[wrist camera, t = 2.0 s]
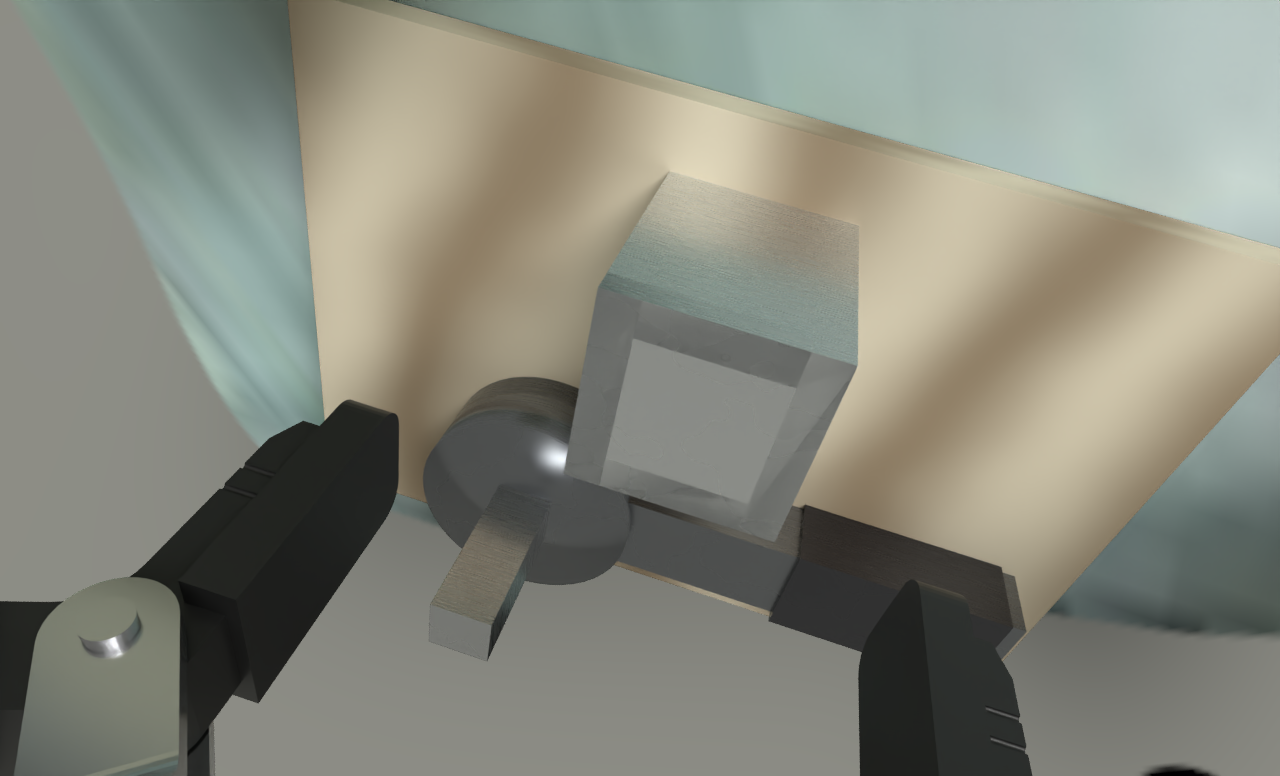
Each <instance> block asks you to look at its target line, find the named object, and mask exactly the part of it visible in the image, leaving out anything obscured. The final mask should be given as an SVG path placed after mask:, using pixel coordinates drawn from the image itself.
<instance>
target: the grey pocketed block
mask: <svg viewBox="0 0 1280 776" xmlns="http://www.w3.org/2000/svg"><path fill="white" fill-rule="evenodd" d="M858 294H859V226H858V225H855V224H851V223H848V222H844V221H841V220H837V219H834V218H830V217H827V216H823V215H820V214H816V213H813V212H809V211H806V210H803V209H799V208H796V207H792V206H789V205H785V204H782V203H778V202H775V201H771V200H768V199H764V198H761V197H757V196H754V195H750V194H747V193H744V192H740V191H737V190H733V189H730V188H726V187H723V186H719V185H716V184H712V183H709V182H705V181H702V180H698V179H695V178H692V177H688V176H685V175H681V174H678V173H674V172H671V171H669V173H668V175H667V176H666V178H665V179H664V181H663V183H662V184H661V186H660V188H659V189H658V191H657V192H656V194H655V196H654V197H653V199H652V200H651V202H650V204H649V205H648V207H647V209H646V210H645V212H644V213H643V215H642V217H641V218H640V220H639V222H638V223H637V225H636V226H635V228H634V230H633V231H632V233H631V234H630V236H629V238H628V239H627V241H626V243H625V244H624V246H623V247H622V249H621V251H620V252H619V254H618V256H617V257H616V259H615V260H614V262H613V264H612V265H611V267H610V269H609V270H608V272H607V273H606V275H605V277H604V278H603V280H602V281H601V283H600V285H599V286H598V289H597V295H596V300H595V306H594V311H593V316H592V322H591V327H590V332H589V338H588V343H587V349H586V354H585V359H584V365H583V370H582V376H581V381H580V386H579V392H578V397H577V403H576V408H575V413H574V419H573V424H572V430H571V435H570V440H569V446H568V451H567V456H566V462H565V467H564V473H563V474H565V475H568V476H571V477H574V478H577V479H580V480H583V481H586V482H590V483H593V484H596V485H599V486H602V487H605V488H608V489H611V490H614V491H617V492H620V493H624V494H627V495H630V496H633V497H636V498H639V499H642V500H645V501H648V502H651V503H654V504H658V505H661V506H664V507H667V508H670V509H673V510H676V511H679V512H682V513H685V514H688V515H692V516H695V517H698V518H701V519H704V520H707V521H710V522H713V523H716V524H719V525H722V526H726V527H729V528H732V529H735V530H738V531H741V532H744V533H747V534H750V535H753V536H757V537H760V538H763V539H766V540H769V541H772V542H775V540H776V538H777V536H778V534H779V532H780V530H781V528H782V526H783V524H784V521H785V519H786V517H787V515H788V513H789V511H790V509H791V507H792V504H793V502H794V500H795V498H796V496H797V494H798V492H799V490H800V488H801V485H802V483H803V481H804V479H805V477H806V475H807V473H808V471H809V468H810V466H811V464H812V462H813V460H814V458H815V456H816V454H817V451H818V449H819V447H820V445H821V443H822V441H823V439H824V437H825V435H826V432H827V430H828V428H829V426H830V424H831V422H832V420H833V418H834V415H835V413H836V411H837V409H838V407H839V405H840V403H841V401H842V398H843V396H844V394H845V392H846V390H847V388H848V386H849V384H850V382H851V379H852V377H853V375H854V373H855V371H856V369H857V367H858Z"/></svg>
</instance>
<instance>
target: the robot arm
mask: <svg viewBox="0 0 1280 776" xmlns="http://www.w3.org/2000/svg"><path fill="white" fill-rule="evenodd" d="M398 482H399V419H398V416H397V415H396V414H395V413H392V412H389V411H385V410H382V409H379V408H376V407H373V406H370V405H366V404H363V403H360V402H357V401H354V400H351V399H349V400H345V401H344V402H342V403H341V404H340V405H339V406H338V407H337V408H336V409H335V410H334V411H333V412H332V413H331V414H330V415H329V417H328V418H327V419H326V420H325V421H324V422H323V423H322V424H321V425H320V426H318V425H315V424H312V423H308V422H305V421H302V422H300V423H298V424H296V425H294V426H292V427H290V428H288V429H286V430H284V431H282V432H280V433H279V434H277V435H275V436H273V437H271V438H269V439H268V440H267V441H266V442H265V443H264V444H263V445H262V446H261V447H260V448H259V449H258V450H257V451H256V452H255V453H254V454H253V455H252V456H251V457H250V459H248V460H247V461H246V462H245V466H244V468H239V470H238V471H237V472H236V473H235V474H234V475H233V476H232V477H231V478H230V479H229V480H228V481H227V482H226V483H225V486H224V488H223V489H219V490H218V491H217V492H216V493H215V494H214V495H213V496H212V497H211V498H210V499H209V500H208V501H207V502H206V503H205V504H204V505H203V506H202V507H201V508H200V509H199V510H198V511H197V512H196V513H195V514H194V515H193V516H192V517H191V518H190V519H189V520H188V521H187V522H186V523H185V524H184V525H183V526H182V527H181V528H180V530H179V531H178V532H176V534H175V535H173V537H172V538H171V539H170V540H169V541H168V542H167V543H166V544H165V545H164V546H163V547H162V548H161V549H160V550H159V551H158V552H157V553H156V554H155V555H154V556H153V557H152V558H151V559H150V560H149V561H148V562H147V563H146V564H145V565H144V566H143V567H142V568H140V569H139V570H138V571H137V572H136V573H134V574H133V575H132V576H130V577H125V578H117V579H112V580H108V581H104V582H100V583H97V584H94V585H92V586H89V587H87V588H85V589H83V590H81V591H79V592H77V593H76V594H74V595H72V596H71V597H69V598H67V599H66V600H65V601H62V602H8V601H5V602H4V601H0V776H215V751H214V750H215V749H214V723H213V720H214V719H215V718H216V716H217V715H218V713H219V712H220V711H221V709H222V708H223V707H224V705H225V704H226V703H227V701H228V700H229V698H230V697H231V696H232V695H235V696H238V697H241V698H244V699H247V700H250V701H253V702H256V703H259V702H260V700H261V699H262V697H263V696H264V695H265V693H266V692H267V690H268V689H269V687H270V686H271V684H272V683H273V681H274V680H275V679H276V677H277V676H278V674H279V673H280V671H281V670H282V669H283V667H284V665H285V664H286V663H287V661H288V660H289V658H290V657H291V655H292V654H293V653H294V651H295V650H296V648H297V647H298V645H299V644H300V642H301V641H302V639H303V638H304V637H305V635H306V634H307V632H308V631H309V629H310V628H311V626H312V625H313V623H314V622H315V621H316V619H317V618H318V616H319V615H320V613H321V612H322V611H323V609H324V608H325V606H326V605H327V603H328V602H329V600H330V599H331V598H332V596H333V595H334V593H335V592H336V590H337V589H338V587H339V586H340V584H341V583H342V582H343V580H344V579H345V577H346V576H347V574H348V573H349V571H350V570H351V569H352V567H353V566H354V564H355V563H356V561H357V560H358V558H359V557H360V555H361V554H362V553H363V551H364V549H365V548H366V547H367V545H368V544H369V542H370V541H371V540H372V538H373V537H374V535H375V534H376V532H377V531H378V529H379V528H380V526H381V525H382V524H383V522H384V520H385V519H386V517H387V516H388V514H389V512H390V510H391V507H392V505H393V503H394V500H395V497H396V493H397V489H398ZM858 680H859V732H860V733H859V736H860V738H859V739H860V776H1032V772H1031V768H1030V763H1029V758H1028V755H1027V754H1025V748H1026V743H1025V738H1024V733H1023V728H1022V724H1021V723H1019V717H1020V713H1019V709H1018V704H1017V699H1016V694H1015V689H1014V684H1013V679H1012V677H1011V676H1010V674H1009V672H1008V670H1007V669H1006V667H1005V665H1004V663H1003V662H1002V660H1001V658H1000V656H999V655H998V653H997V651H996V649H995V647H994V646H993V644H992V643H991V642H988V641H985V640H982V639H979V638H976V637H974V635H973V629H972V623H971V617H970V611H969V606H968V602H967V600H966V598H965V597H964V596H963V595H961V594H958V593H954V592H951V591H948V590H945V589H942V588H939V587H935V586H932V585H929V584H926V583H923V582H920V581H916V580H913V579H912V580H909V581H907V582H906V583H905V584H904V586H903V587H902V588H901V590H900V591H899V593H898V594H897V595H896V597H895V598H894V600H893V601H892V603H891V604H890V606H889V607H888V608H887V610H886V611H885V613H884V614H883V616H882V617H881V618H880V620H879V621H878V623H877V624H876V626H875V627H874V628H873V630H872V631H871V633H870V634H869V636H868V638H867V640H866V642H865V645H864V648H863V651H862V654H861V659H860V665H859V678H858Z"/></svg>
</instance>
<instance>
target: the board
mask: <svg viewBox="0 0 1280 776" xmlns="http://www.w3.org/2000/svg"><path fill="white" fill-rule="evenodd" d="M288 12H289V23H290V34H291V45H292V57H293V68H294V79H295V90H296V101H297V113H298V124H299V135H300V146H301V158H302V169H303V180H304V191H305V203H306V214H307V225H308V236H309V248H310V259H311V270H312V281H313V293H314V304H315V315H316V326H317V338H318V349H319V360H320V371H321V383H322V394H323V405H324V416H325V420H326V419H327V418H328V417H329V415H330V414H331V413H332V412H333V411H334V410H335V409H336V408H337V407H338V406H339V405H340V404H341V403H342V402H344V401H345V400H349V399H351V400H354V401H357V402H360V403H363V404H366V405H370V406H373V407H376V408H379V409H382V410H385V411H389V412H392V413H395V414H396V415H397V416H398V419H399V482H398V489H397V493H398V494H401V495H404V496H407V497H410V498H413V499H416V500H419V501H422V502H425V503H427V500H426V497H425V493H424V488H423V472H424V467H425V463H426V460H427V458H428V456H429V454H430V453H431V451H432V450H433V448H434V447H435V445H436V444H437V443H438V441H439V440H440V439H441V437H442V436H443V434H444V433H445V432H446V430H447V429H448V428H449V426H450V425H451V423H452V422H453V421H454V419H455V418H456V417H457V415H458V414H459V412H460V411H461V410H462V408H463V407H464V406H465V404H466V403H467V402H468V400H469V399H470V398H471V397H472V396H473V395H474V394H475V393H476V392H478V391H479V390H480V389H482V388H484V387H485V386H487V385H489V384H491V383H494V382H496V381H499V380H503V379H508V378H514V377H539V378H546V379H551V380H555V381H559V382H563V383H565V384H568V385H571V386H574V387H576V388H578V389H579V386H580V381H581V376H582V370H583V365H584V359H585V354H586V349H587V343H588V338H589V332H590V327H591V322H592V316H593V311H594V306H595V300H596V295H597V289H598V286H599V285H600V283H601V281H602V280H603V278H604V277H605V275H606V273H607V272H608V270H609V269H610V267H611V265H612V264H613V262H614V260H615V259H616V257H617V256H618V254H619V252H620V251H621V249H622V247H623V246H624V244H625V243H626V241H627V239H628V238H629V236H630V234H631V233H632V231H633V230H634V228H635V226H636V225H637V223H638V222H639V220H640V218H641V217H642V215H643V213H644V212H645V210H646V209H647V207H648V205H649V204H650V202H651V200H652V199H653V197H654V196H655V194H656V192H657V191H658V189H659V188H660V186H661V184H662V183H663V181H664V179H665V178H666V176H667V175H668V173H669V171H671V172H674V173H678V174H681V175H685V176H688V177H692V178H695V179H698V180H702V181H705V182H709V183H712V184H716V185H719V186H723V187H726V188H730V189H733V190H737V191H740V192H744V193H747V194H750V195H754V196H757V197H761V198H764V199H768V200H771V201H775V202H778V203H782V204H785V205H789V206H792V207H796V208H799V209H803V210H806V211H809V212H813V213H816V214H820V215H823V216H827V217H830V218H834V219H837V220H841V221H844V222H848V223H851V224H855V225H858V226H859V294H858V367H857V369H856V371H855V373H854V375H853V377H852V379H851V382H850V384H849V386H848V388H847V390H846V392H845V394H844V396H843V398H842V401H841V403H840V405H839V407H838V409H837V411H836V413H835V415H834V418H833V420H832V422H831V424H830V426H829V428H828V430H827V432H826V435H825V437H824V439H823V441H822V443H821V445H820V447H819V449H818V451H817V454H816V456H815V458H814V460H813V462H812V464H811V466H810V468H809V471H808V473H807V475H806V477H805V479H804V481H803V483H802V485H801V488H800V490H799V492H798V494H797V496H796V498H795V500H794V502H793V504H792V505H793V506H796V507H799V508H802V509H803V508H804V506H805V504H806V505H809V506H812V507H815V508H818V509H821V510H824V511H828V512H831V513H834V514H837V515H840V516H843V517H846V518H850V519H853V520H856V521H859V522H862V523H865V524H868V525H872V526H875V527H878V528H881V529H884V530H887V531H890V532H894V533H897V534H900V535H903V536H906V537H909V538H912V539H915V540H919V541H922V542H925V543H928V544H931V545H934V546H937V547H941V548H944V549H947V550H950V551H953V552H956V553H959V554H963V555H966V556H969V557H972V558H975V559H978V560H981V561H985V562H988V563H991V564H994V565H997V566H1000V567H1002V572H1003V573H1006V574H1009V575H1012V576H1015V580H1016V584H1017V589H1018V594H1019V599H1020V603H1021V608H1022V613H1023V617H1024V622H1025V627H1026V633H1025V634H1024V635H1023V636H1022V637H1021V639H1020V640H1019V641H1018V642H1017V643H1016V644H1015V645H1014V646H1013V648H1012V649H1011V650H1010V651H1009V652H1008V653H1007V654H1006V655H1005V656H1004V658H1003V659H1002V662H1003V661H1004V659H1005V658H1006V657H1007V656H1008V655H1009V654H1010V653H1011V651H1013V649H1014V648H1015V647H1016V646H1017V645H1018V644H1019V643H1020V642H1021V641H1022V639H1023V638H1024V637H1025V636H1026V635H1027V634H1028V633H1029V632H1030V630H1031V629H1032V628H1033V627H1034V626H1035V625H1036V624H1037V623H1038V622H1039V621H1040V619H1041V618H1042V617H1043V616H1044V615H1045V614H1046V613H1047V612H1048V611H1049V610H1050V608H1051V607H1052V606H1053V605H1054V604H1055V603H1056V602H1057V601H1058V600H1059V598H1060V597H1061V596H1062V595H1063V594H1064V593H1065V592H1066V591H1067V590H1068V588H1069V587H1070V586H1071V585H1072V584H1073V583H1074V582H1075V581H1076V580H1077V578H1078V577H1079V576H1080V575H1081V574H1082V573H1083V572H1084V571H1085V570H1086V568H1087V567H1088V566H1089V565H1090V564H1091V563H1092V562H1093V561H1094V560H1095V558H1096V557H1097V556H1098V555H1099V554H1100V553H1101V552H1102V551H1103V550H1104V548H1105V547H1106V546H1107V545H1108V544H1109V543H1110V542H1111V541H1112V540H1113V538H1114V537H1115V536H1116V535H1117V534H1118V533H1119V532H1120V531H1121V530H1122V528H1123V527H1124V526H1125V525H1126V524H1127V523H1128V522H1129V521H1130V520H1131V518H1132V517H1133V516H1134V515H1135V514H1136V513H1137V512H1138V511H1139V510H1140V508H1141V507H1142V506H1143V505H1144V504H1145V503H1146V502H1147V501H1148V500H1149V498H1150V497H1151V496H1152V495H1153V494H1154V493H1155V492H1156V491H1157V490H1158V488H1159V487H1160V486H1161V485H1162V484H1163V483H1164V482H1165V481H1166V480H1167V478H1168V477H1169V476H1170V475H1171V474H1172V473H1173V472H1174V471H1175V470H1176V468H1177V467H1178V466H1179V465H1180V464H1181V463H1182V462H1183V461H1184V460H1185V458H1186V457H1187V456H1188V455H1189V454H1190V453H1191V452H1192V451H1193V450H1194V448H1195V447H1196V446H1197V445H1198V444H1199V443H1200V442H1201V441H1202V440H1203V438H1204V437H1205V436H1206V435H1207V434H1208V433H1209V432H1210V431H1211V430H1212V428H1213V427H1214V426H1215V425H1216V424H1217V423H1218V422H1219V421H1220V420H1221V418H1222V417H1223V416H1224V415H1225V414H1226V413H1227V412H1228V411H1229V410H1230V408H1231V407H1232V406H1233V405H1234V404H1235V403H1236V402H1237V401H1238V400H1239V398H1240V397H1241V396H1242V395H1243V394H1244V393H1245V392H1246V391H1247V390H1248V388H1249V387H1250V386H1251V385H1252V384H1253V383H1254V382H1255V381H1256V380H1257V378H1258V377H1259V376H1260V375H1261V374H1262V373H1263V372H1264V371H1265V370H1266V368H1267V367H1268V366H1269V365H1270V364H1271V363H1272V362H1273V361H1274V360H1275V358H1276V357H1277V356H1278V355H1279V354H1280V248H1277V247H1273V246H1270V245H1266V244H1263V243H1259V242H1256V241H1252V240H1248V239H1245V238H1241V237H1238V236H1234V235H1230V234H1227V233H1223V232H1220V231H1216V230H1212V229H1209V228H1205V227H1202V226H1198V225H1194V224H1191V223H1187V222H1184V221H1180V220H1177V219H1173V218H1169V217H1166V216H1162V215H1159V214H1155V213H1151V212H1148V211H1144V210H1141V209H1137V208H1133V207H1130V206H1126V205H1123V204H1119V203H1115V202H1112V201H1108V200H1105V199H1101V198H1098V197H1094V196H1090V195H1087V194H1083V193H1080V192H1076V191H1072V190H1069V189H1065V188H1062V187H1058V186H1054V185H1051V184H1047V183H1044V182H1040V181H1036V180H1033V179H1029V178H1026V177H1022V176H1019V175H1015V174H1011V173H1008V172H1004V171H1001V170H997V169H993V168H990V167H986V166H983V165H979V164H975V163H972V162H968V161H965V160H961V159H957V158H954V157H950V156H947V155H943V154H940V153H936V152H932V151H929V150H925V149H922V148H918V147H914V146H911V145H907V144H904V143H900V142H896V141H893V140H889V139H886V138H882V137H878V136H875V135H871V134H868V133H864V132H860V131H857V130H853V129H850V128H846V127H843V126H839V125H835V124H832V123H828V122H825V121H821V120H817V119H814V118H810V117H807V116H803V115H799V114H796V113H792V112H789V111H785V110H781V109H778V108H774V107H771V106H767V105H764V104H760V103H756V102H753V101H749V100H746V99H742V98H738V97H735V96H731V95H728V94H724V93H720V92H717V91H713V90H710V89H706V88H702V87H699V86H695V85H692V84H688V83H685V82H681V81H677V80H674V79H670V78H667V77H663V76H659V75H656V74H652V73H649V72H645V71H641V70H638V69H634V68H631V67H627V66H623V65H620V64H616V63H613V62H609V61H606V60H602V59H598V58H595V57H591V56H588V55H584V54H580V53H577V52H573V51H570V50H566V49H562V48H559V47H555V46H552V45H548V44H544V43H541V42H537V41H534V40H530V39H527V38H523V37H519V36H516V35H512V34H509V33H505V32H501V31H498V30H494V29H491V28H487V27H483V26H480V25H476V24H473V23H469V22H465V21H462V20H458V19H455V18H451V17H447V16H444V15H440V14H437V13H433V12H430V11H426V10H422V9H419V8H415V7H412V6H408V5H404V4H401V3H397V2H394V1H390V0H288ZM614 565H616V566H619V567H622V568H625V569H628V570H631V571H634V572H637V573H640V574H643V575H646V576H649V577H652V578H655V579H658V580H661V581H664V582H667V583H670V584H673V585H676V586H679V587H682V588H685V589H688V590H691V591H694V592H697V593H700V594H703V595H706V596H709V597H713V598H715V599H718V600H721V601H724V602H728V603H730V604H733V605H736V606H739V607H743V608H745V609H748V610H752V611H755V612H758V613H761V614H764V615H767V616H769V613H770V611H767V610H764V609H761V608H758V607H755V606H752V605H749V604H746V603H743V602H740V601H737V600H734V599H731V598H728V597H725V596H722V595H719V594H716V593H713V592H710V591H706V590H703V589H700V588H697V587H694V586H691V585H688V584H685V583H682V582H679V581H676V580H673V579H670V578H667V577H664V576H661V575H658V574H655V573H652V572H649V571H646V570H643V569H640V568H637V567H634V566H631V565H628V564H625V563H622V562H619V561H617V562H616V563H615V564H614Z"/></svg>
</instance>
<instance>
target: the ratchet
mask: <svg viewBox="0 0 1280 776" xmlns="http://www.w3.org/2000/svg"><path fill="white" fill-rule="evenodd" d="M578 392H579V389H578V388H576V387H574V386H571V385H568V384H565V383H563V382H559V381H555V380H551V379H546V378H539V377H514V378H508V379H503V380H499V381H496V382H494V383H491V384H489V385H487V386H485V387H484V388H482V389H480V390H479V391H478V392H476V393H475V394H474V395H473V396H472V397H471V398H470V399H469V400H468V402H467V403H466V404H465V406H464V407H463V408H462V410H461V411H460V412H459V414H458V415H457V417H456V418H455V419H454V421H453V422H452V423H451V425H450V426H449V428H448V429H447V430H446V432H445V433H444V434H443V436H442V437H441V439H440V440H439V441H438V443H437V444H436V445H435V447H434V448H433V450H432V451H431V453H430V454H429V456H428V458H427V460H426V463H425V467H424V472H423V488H424V493H425V497H426V500H427V503H428V505H429V508H430V510H431V512H432V514H433V515H434V517H435V519H436V520H437V522H438V523H439V525H440V526H441V528H442V529H443V530H444V531H445V532H446V534H447V535H448V536H449V537H450V538H451V539H452V540H453V541H454V542H455V543H456V544H457V545H458V546H459V547H461V548H462V550H461V552H460V554H459V556H458V558H457V559H456V561H455V562H454V564H453V566H452V568H451V569H450V571H449V573H448V575H447V576H446V578H445V580H444V582H443V583H442V585H441V587H440V588H439V590H438V592H437V594H436V595H435V597H434V599H433V600H432V602H431V604H430V623H429V641H430V642H432V643H435V644H438V645H441V646H444V647H447V648H450V649H453V650H456V651H458V652H461V653H464V654H467V655H470V656H473V657H476V658H479V659H482V660H485V661H488V658H489V656H490V654H491V652H492V650H493V648H494V645H495V643H496V641H497V639H498V637H499V635H500V632H501V630H502V628H503V626H504V624H505V622H506V620H507V618H508V616H509V613H510V611H511V609H512V607H513V605H514V603H515V600H516V599H517V596H518V594H519V592H520V590H521V588H522V586H523V584H524V581H529V582H534V583H540V584H549V585H566V584H575V583H579V582H585V581H587V580H590V579H593V578H595V577H597V576H599V575H601V574H603V573H604V572H606V571H607V570H608V569H610V568H611V567H612V566H613V565H614V564H615V563H616V562H617V561H619V562H622V563H625V564H628V565H631V566H634V567H637V568H640V569H643V570H646V571H649V572H652V573H655V574H658V575H661V576H664V577H667V578H670V579H673V580H676V581H679V582H682V583H685V584H688V585H691V586H694V587H697V588H700V589H703V590H706V591H710V592H713V593H716V594H719V595H722V596H725V597H728V598H731V599H734V600H737V601H740V602H743V603H746V604H749V605H752V606H755V607H758V608H761V609H764V610H767V611H770V613H769V621H770V622H773V623H776V624H779V625H782V626H785V627H788V628H791V629H794V630H797V631H800V632H803V633H806V634H809V635H812V636H815V637H818V638H821V639H824V640H827V641H830V642H833V643H836V644H839V645H842V646H845V647H848V648H852V649H854V650H857V651H860V652H862V651H863V648H864V645H865V642H866V640H867V638H868V636H869V634H870V633H871V631H872V630H873V628H874V627H875V626H876V624H877V623H878V621H879V620H880V618H881V617H882V616H883V614H884V613H885V611H886V610H887V608H888V607H889V606H890V604H891V603H892V601H893V600H894V598H895V597H896V595H897V594H898V593H899V591H900V590H901V588H902V587H903V586H904V584H905V583H906V582H907V581H909V580H912V579H913V580H916V581H920V582H923V583H926V584H929V585H932V586H935V587H939V588H942V589H945V590H948V591H951V592H954V593H958V594H961V595H963V596H964V597H965V598H966V600H967V602H968V606H969V611H970V617H971V623H972V629H973V635H974V637H976V638H979V639H982V640H985V641H988V642H991V643H992V644H993V646H994V647H995V649H996V651H997V653H998V655H999V656H1000V658H1001V660H1002V659H1003V658H1004V656H1005V655H1006V654H1007V653H1008V652H1009V651H1010V650H1011V649H1012V648H1013V646H1014V645H1015V644H1016V643H1017V642H1018V641H1019V640H1020V639H1021V637H1022V636H1023V635H1024V634H1025V633H1026V627H1025V622H1024V617H1023V613H1022V608H1021V603H1020V599H1019V594H1018V589H1017V584H1016V580H1015V576H1012V575H1009V574H1006V573H1003V572H1002V567H1000V566H997V565H994V564H991V563H988V562H985V561H981V560H978V559H975V558H972V557H969V556H966V555H963V554H959V553H956V552H953V551H950V550H947V549H944V548H941V547H937V546H934V545H931V544H928V543H925V542H922V541H919V540H915V539H912V538H909V537H906V536H903V535H900V534H897V533H894V532H890V531H887V530H884V529H881V528H878V527H875V526H872V525H868V524H865V523H862V522H859V521H856V520H853V519H850V518H846V517H843V516H840V515H837V514H834V513H831V512H828V511H824V510H821V509H818V508H815V507H812V506H809V505H806V504H805V506H804V508H803V509H802V508H799V507H796V506H793V505H792V507H791V509H790V511H789V513H788V515H787V517H786V519H785V521H784V524H783V526H782V528H781V530H780V532H779V534H778V536H777V538H776V540H775V542H772V541H769V540H766V539H763V538H760V537H757V536H753V535H750V534H747V533H744V532H741V531H738V530H735V529H732V528H729V527H726V526H722V525H719V524H716V523H713V522H710V521H707V520H704V519H701V518H698V517H695V516H692V515H688V514H685V513H682V512H679V511H676V510H673V509H670V508H667V507H664V506H661V505H658V504H654V503H651V502H648V501H645V500H642V499H639V498H636V497H633V496H630V495H627V494H624V493H620V492H617V491H614V490H611V489H608V488H605V487H602V486H599V485H596V484H593V483H590V482H586V481H583V480H580V479H577V478H574V477H571V476H568V475H565V474H563V473H564V467H565V462H566V456H567V451H568V446H569V440H570V435H571V430H572V424H573V419H574V413H575V408H576V403H577V397H578Z"/></svg>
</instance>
